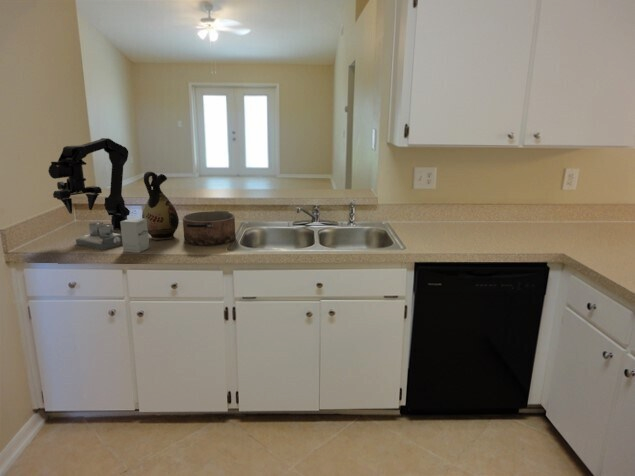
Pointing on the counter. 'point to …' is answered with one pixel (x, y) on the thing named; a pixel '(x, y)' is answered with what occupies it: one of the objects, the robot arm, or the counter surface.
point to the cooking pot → (209, 228)
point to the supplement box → (134, 235)
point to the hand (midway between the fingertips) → (80, 211)
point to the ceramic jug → (159, 209)
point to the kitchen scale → (100, 241)
